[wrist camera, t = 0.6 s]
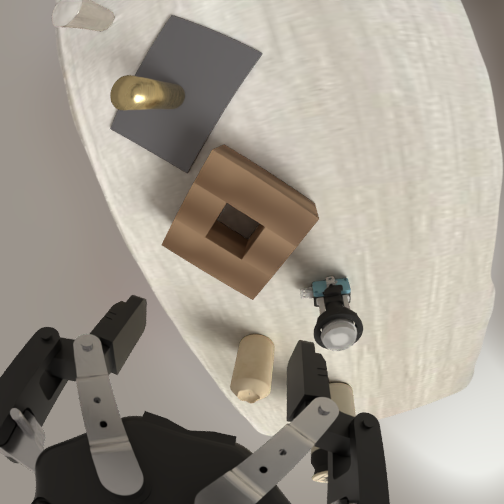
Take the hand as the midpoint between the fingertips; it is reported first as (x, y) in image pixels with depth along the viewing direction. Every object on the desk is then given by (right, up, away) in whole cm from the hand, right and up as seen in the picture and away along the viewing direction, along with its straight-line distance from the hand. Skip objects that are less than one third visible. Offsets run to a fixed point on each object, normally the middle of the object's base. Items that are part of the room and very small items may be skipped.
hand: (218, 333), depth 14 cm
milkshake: (-17, +34, +8) cm, 39 cm away
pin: (-7, +21, +13) cm, 26 cm away
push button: (+11, 0, +22) cm, 25 cm away
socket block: (+1, +8, +19) cm, 21 cm away
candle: (+3, -11, +29) cm, 31 cm away
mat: (-6, +22, +13) cm, 26 cm away
